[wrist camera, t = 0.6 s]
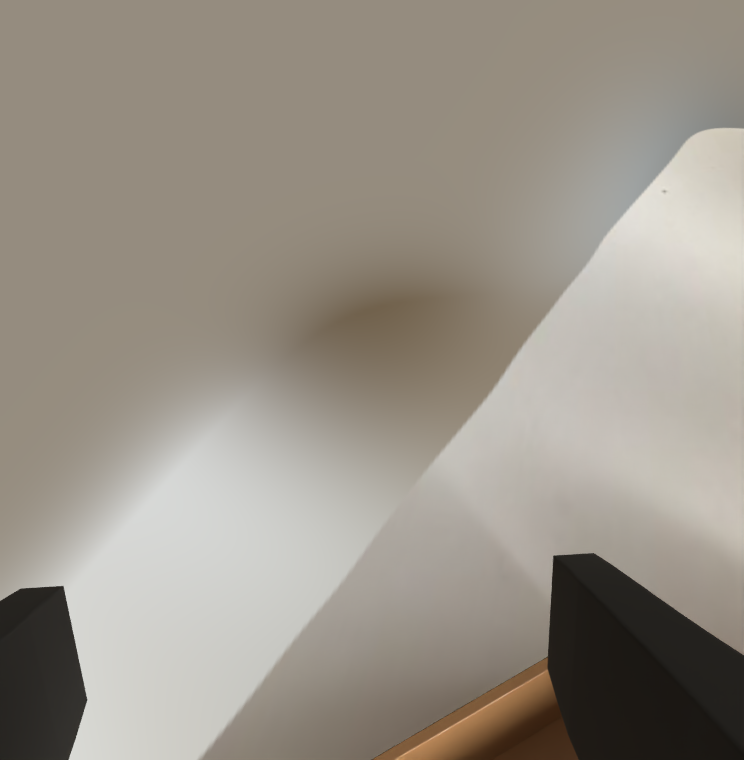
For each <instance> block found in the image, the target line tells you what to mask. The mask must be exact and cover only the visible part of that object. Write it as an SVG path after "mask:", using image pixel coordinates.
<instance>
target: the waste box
mask: <svg viewBox="0 0 744 760" xmlns="http://www.w3.org/2000/svg"><path fill="white" fill-rule="evenodd" d="M547 665H548V657H546V658H545V659H543V660H541V661H540V662H538V663H536V664H534V665H533V666H531V667H529V668H528V669H526V670H524V671H523V672H521V673H519V674H517V675H516V676H514V677H512V678H511V679H509V680H507V681H505V682H504V683H502V684H500V685H499V686H497V687H495V688H493V689H492V690H490V691H488V692H487V693H485V694H483V695H481V696H480V697H478V698H476V699H475V700H473V701H471V702H469V703H468V704H466V705H464V706H463V707H461V708H459V709H457V710H456V711H454V712H452V713H451V714H449V715H447V716H445V717H444V718H442V719H440V720H439V721H437V722H435V723H433V724H432V725H430V726H428V727H427V728H425V729H423V730H422V731H420V732H418V733H416V734H415V735H413V736H411V737H410V738H408V739H406V740H404V741H403V742H401V743H399V744H398V745H396V746H394V747H392V748H391V749H389V750H387V751H386V752H384V753H382V754H380V755H379V756H377V757H375V758H374V759H372V760H579V759H578V757H577V755H576V752H575V750H574V748H573V745H572V743H571V741H570V738H569V736H568V733H567V730H566V727H565V724H564V721H563V718H562V715H561V712H560V709H559V706H558V702H557V699H556V696H555V692H554V689H553V686H552V682H551V679H550V676H549V672H548V669H547Z"/></svg>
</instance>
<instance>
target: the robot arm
mask: <svg viewBox="0 0 744 760" xmlns="http://www.w3.org/2000/svg"><path fill="white" fill-rule="evenodd" d="M547 669H548V672H549V676H550V679H551V682H552V686H553V689H554V692H555V696H556V699H557V702H558V706H559V709H560V712H561V715H562V718H563V721H564V724H565V727H566V730H567V733H568V736H569V738H570V741H571V743H572V745H573V748H574V750H575V752H576V755H577V757H578V759H579V760H744V655H742V654H741V653H739V652H738V651H736V650H735V649H733V648H732V647H730V646H729V645H727V644H725V643H724V642H722V641H721V640H719V639H718V638H716V637H715V636H713V635H712V634H710V633H709V632H707V631H706V630H704V629H703V628H701V627H700V626H698V625H697V624H695V623H694V622H693V621H691V620H690V619H688V618H687V617H685V616H684V615H682V614H681V613H679V612H678V611H677V610H675V609H674V608H672V607H671V606H669V605H668V604H667V603H665V602H664V601H662V600H661V599H659V598H658V597H657V596H655V595H654V594H652V593H651V592H650V591H648V590H647V589H645V588H644V587H643V586H641V585H640V584H638V583H637V582H635V581H634V580H633V579H631V578H630V577H628V576H627V575H626V574H624V573H623V572H621V571H620V570H618V569H617V568H616V567H614V566H613V565H611V564H610V563H608V562H607V561H605V560H604V559H602V558H601V557H599V556H597V555H596V554H594V553H589V554H573V555H557V556H553V573H552V592H551V610H550V628H549V647H548V665H547ZM86 702H87V697H86V692H85V687H84V682H83V678H82V673H81V668H80V663H79V659H78V654H77V649H76V644H75V639H74V635H73V630H72V625H71V620H70V616H69V611H68V606H67V601H66V596H65V592H64V587H63V586H56V587H40V588H25V589H19V590H18V591H16V592H14V593H13V594H11V595H9V596H8V597H6V598H5V599H3V600H1V601H0V760H68V759H69V756H70V753H71V751H72V748H73V744H74V742H75V739H76V735H77V732H78V728H79V725H80V722H81V719H82V715H83V712H84V709H85V705H86Z"/></svg>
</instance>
